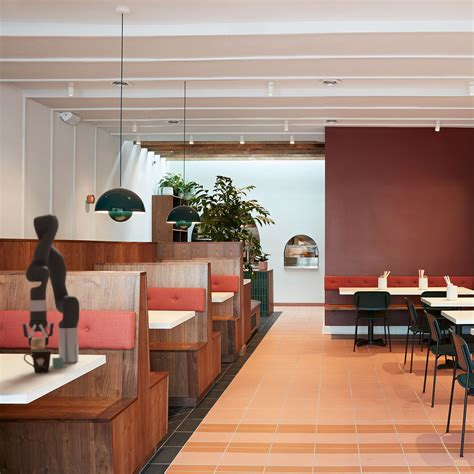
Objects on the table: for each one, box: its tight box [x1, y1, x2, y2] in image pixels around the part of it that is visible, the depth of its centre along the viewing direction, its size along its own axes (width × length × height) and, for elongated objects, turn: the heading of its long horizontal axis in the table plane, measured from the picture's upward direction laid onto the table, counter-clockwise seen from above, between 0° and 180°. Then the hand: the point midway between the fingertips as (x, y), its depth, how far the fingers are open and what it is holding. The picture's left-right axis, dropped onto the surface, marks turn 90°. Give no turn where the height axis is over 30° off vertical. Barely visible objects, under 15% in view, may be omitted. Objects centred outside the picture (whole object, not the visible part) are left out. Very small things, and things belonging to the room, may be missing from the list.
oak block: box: [30, 336, 47, 350], centre depth 319 cm, size 6×11×4 cm, turn 12°
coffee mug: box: [23, 348, 52, 374], centre depth 318 cm, size 12×9×10 cm
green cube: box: [51, 356, 64, 369], centre depth 330 cm, size 4×4×4 cm
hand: (38, 345), depth 319 cm, fingers closed on oak block, 6 cm apart
